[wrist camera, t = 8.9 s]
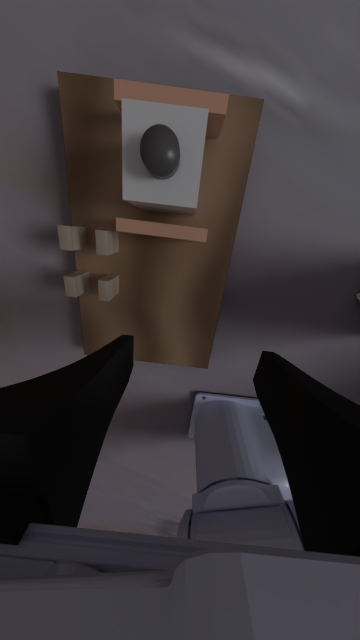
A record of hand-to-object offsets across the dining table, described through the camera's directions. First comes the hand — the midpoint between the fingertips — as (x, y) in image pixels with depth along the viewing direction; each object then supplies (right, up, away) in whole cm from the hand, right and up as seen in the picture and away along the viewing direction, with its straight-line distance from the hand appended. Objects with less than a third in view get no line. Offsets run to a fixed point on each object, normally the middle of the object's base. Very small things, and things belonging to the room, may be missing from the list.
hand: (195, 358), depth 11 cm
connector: (-2, +12, +3) cm, 13 cm away
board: (-3, +8, +7) cm, 11 cm away
